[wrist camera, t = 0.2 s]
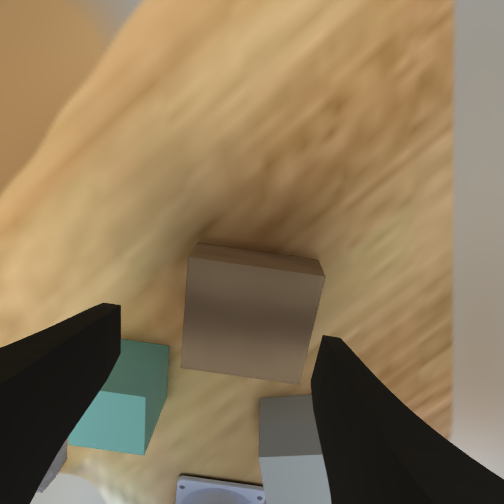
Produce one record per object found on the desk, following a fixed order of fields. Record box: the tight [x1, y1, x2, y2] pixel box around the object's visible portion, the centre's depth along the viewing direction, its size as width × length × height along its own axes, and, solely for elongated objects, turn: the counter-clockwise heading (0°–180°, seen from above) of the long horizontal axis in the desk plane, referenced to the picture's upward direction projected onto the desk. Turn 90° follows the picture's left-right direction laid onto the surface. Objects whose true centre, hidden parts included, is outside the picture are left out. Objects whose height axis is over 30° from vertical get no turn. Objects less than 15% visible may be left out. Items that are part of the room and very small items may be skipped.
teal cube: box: [68, 339, 169, 455], centre depth 22 cm, size 5×5×5 cm
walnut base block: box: [181, 243, 325, 384], centre depth 21 cm, size 8×8×3 cm
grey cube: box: [259, 395, 331, 504], centre depth 23 cm, size 5×5×5 cm
